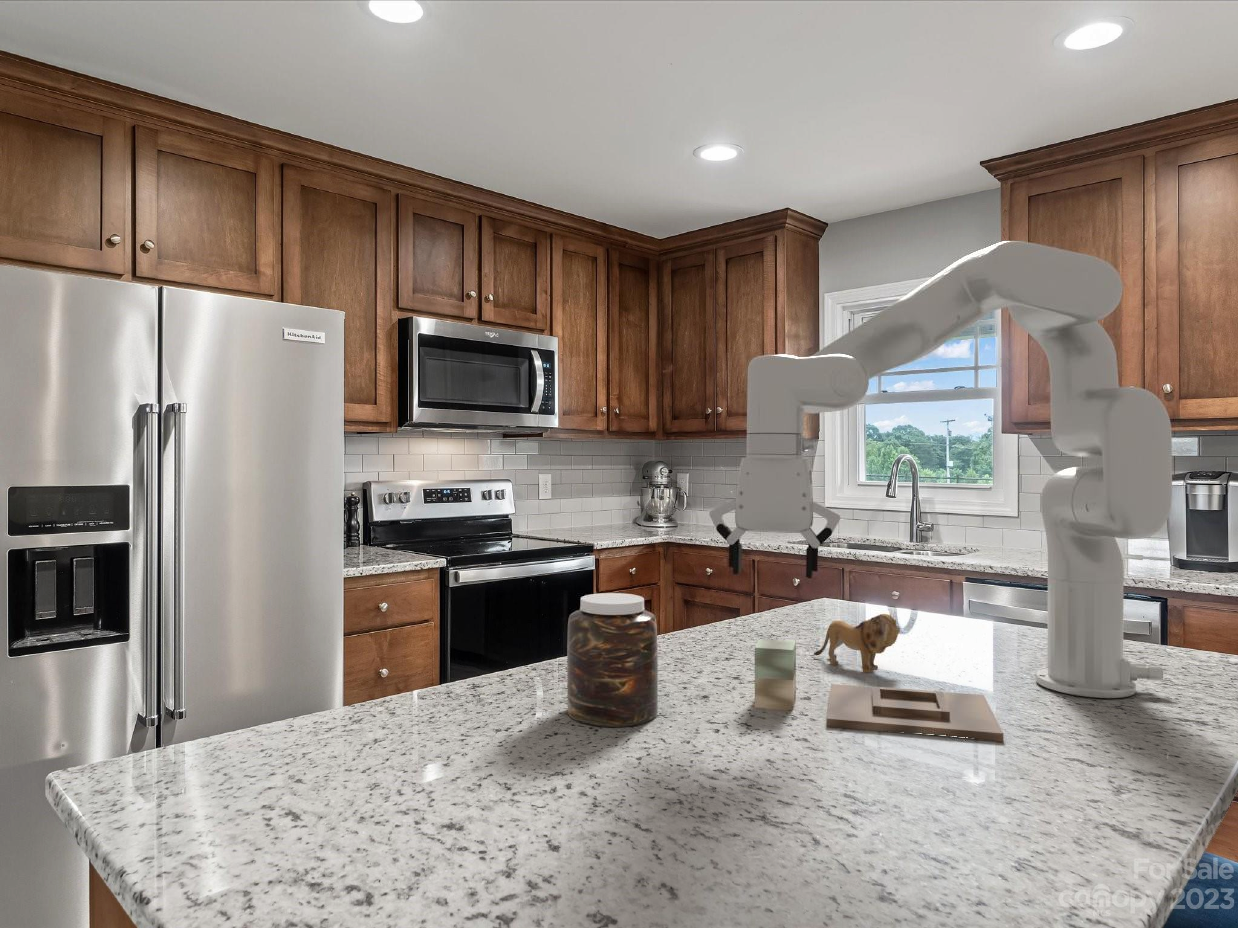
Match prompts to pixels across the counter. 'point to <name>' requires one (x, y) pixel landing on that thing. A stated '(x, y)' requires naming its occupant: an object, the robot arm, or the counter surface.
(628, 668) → the jar
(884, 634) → the lion figurine
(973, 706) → the walnut socket board
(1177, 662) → the counter surface
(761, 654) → the two-tone block
